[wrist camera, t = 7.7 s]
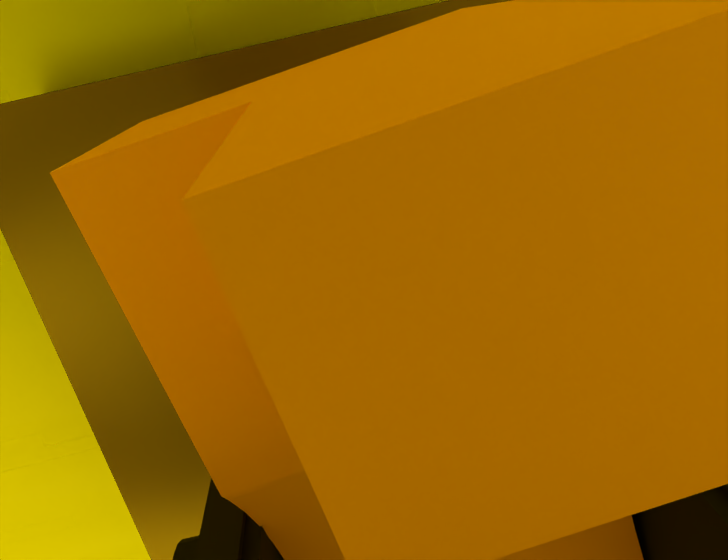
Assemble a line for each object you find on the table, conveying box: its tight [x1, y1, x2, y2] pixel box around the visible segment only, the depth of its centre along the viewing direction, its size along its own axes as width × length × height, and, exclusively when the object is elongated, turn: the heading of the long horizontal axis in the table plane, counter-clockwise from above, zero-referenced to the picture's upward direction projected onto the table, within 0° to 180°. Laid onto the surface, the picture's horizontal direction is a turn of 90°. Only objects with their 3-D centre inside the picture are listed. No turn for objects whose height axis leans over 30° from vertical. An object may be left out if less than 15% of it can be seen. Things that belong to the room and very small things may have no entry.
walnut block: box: [0, 0, 513, 560], centre depth 15 cm, size 13×13×4 cm
